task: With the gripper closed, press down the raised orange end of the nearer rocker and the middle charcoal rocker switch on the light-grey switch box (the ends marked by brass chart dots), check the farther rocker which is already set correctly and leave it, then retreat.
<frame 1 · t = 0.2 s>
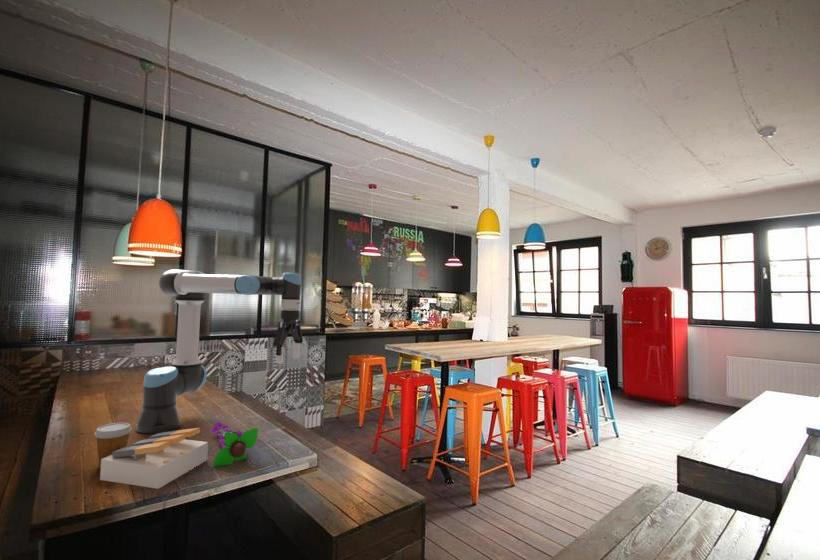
hand: (287, 360, 166), 28 cm above the table, fingers open, 13 cm apart
rocker 2: (174, 434, 132), point 9 cm above the table, hinge at -12.5°
disposable coffee cup: (111, 465, 127), on the table
switch box: (156, 469, 125), on the table
rocker 1: (140, 449, 119), point 9 cm above the table, hinge at -12.5°
rocker mid: (158, 441, 125), point 9 cm above the table, hinge at -12.5°
potted plant: (225, 451, 142), on the table
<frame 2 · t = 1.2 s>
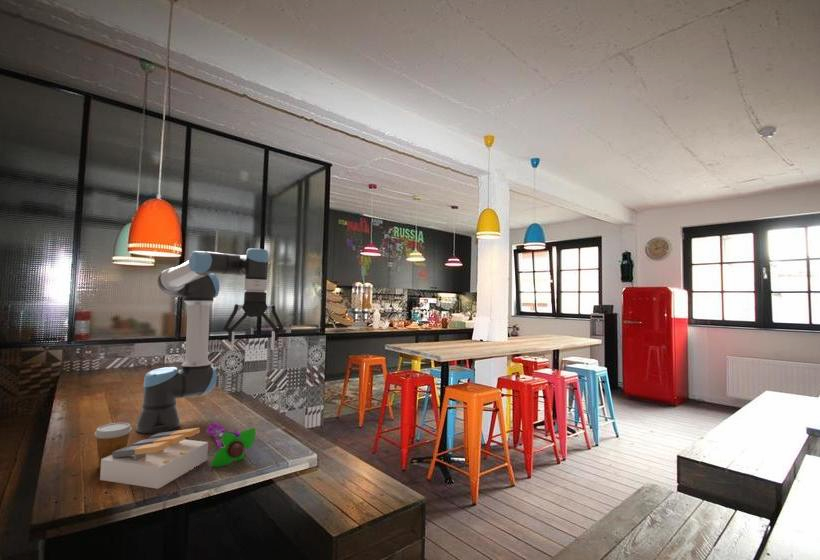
hand: (252, 350, 144), 35 cm above the table, fingers open, 13 cm apart
potted plant: (221, 451, 142), on the table
everything else where it was.
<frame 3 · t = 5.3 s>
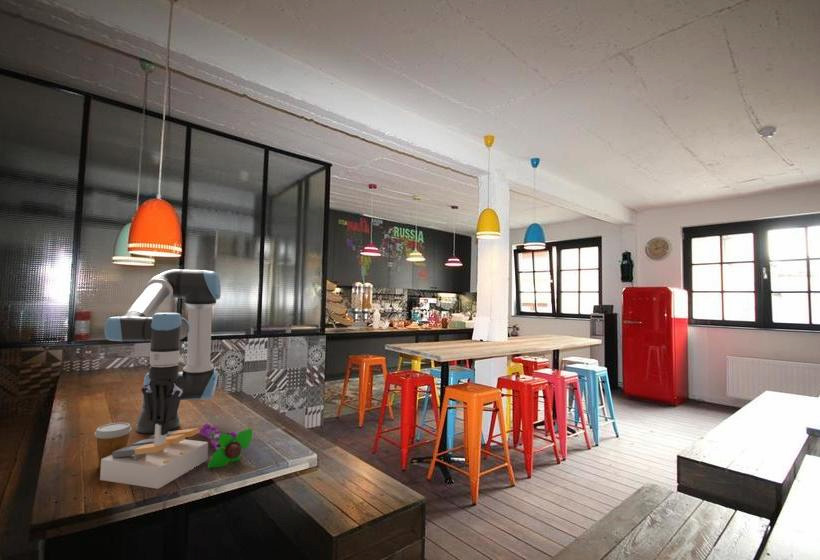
hand: (159, 445, 117), 11 cm above the table, fingers closed
rocker 1: (140, 449, 119), point 9 cm above the table, hinge at -12.4°, touching gripper
potted plant: (216, 452, 140), on the table
everything else where it was.
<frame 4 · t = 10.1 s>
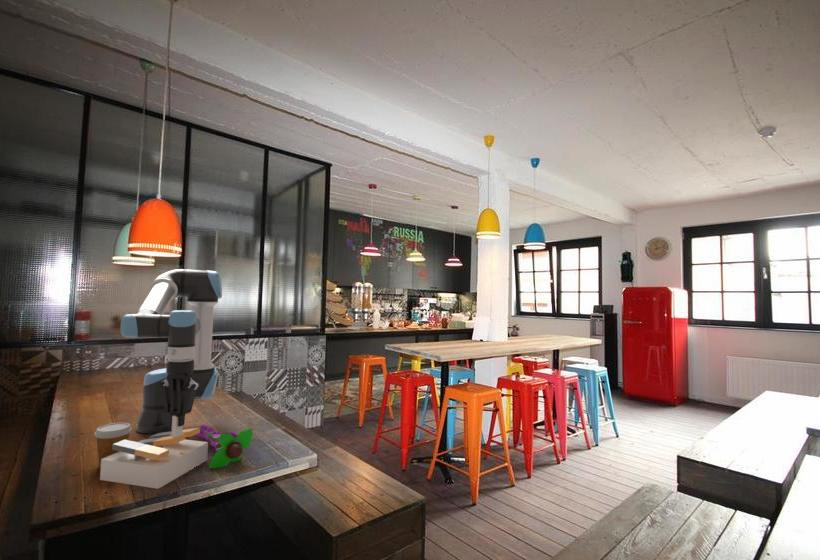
hand: (176, 436, 124), 11 cm above the table, fingers closed
rocker 1: (140, 449, 119), point 9 cm above the table, hinge at 4.7°
rocker mid: (158, 441, 125), point 9 cm above the table, hinge at -12.5°, touching gripper
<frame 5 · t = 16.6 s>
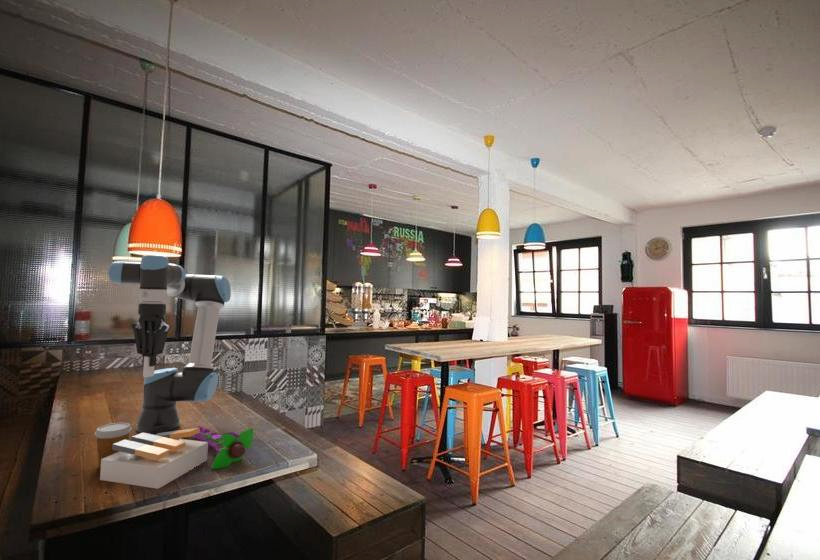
hand: (148, 376, 128), 28 cm above the table, fingers closed
rocker mid: (158, 441, 125), point 9 cm above the table, hinge at 4.8°
at the end: rocker 1 at +5° (first picture: -12°); rocker mid at +5° (first picture: -12°); rocker 2 at -12° (first picture: -12°) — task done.
